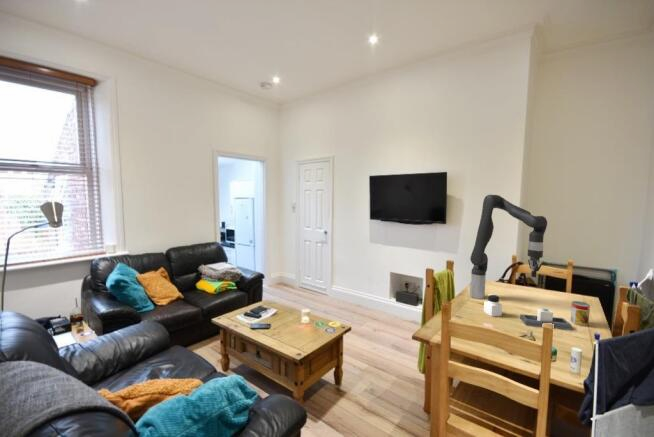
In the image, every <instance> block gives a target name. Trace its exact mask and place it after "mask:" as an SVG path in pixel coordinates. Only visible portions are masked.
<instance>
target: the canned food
mask: <svg viewBox="0 0 654 437" xmlns="http://www.w3.org/2000/svg"><path fill="white" fill-rule="evenodd" d="M570 308H571V309H570V324H573V325H575V326H579V327H588V326H589V323H590V322H589V321H590V309H591V305H590V304H589V303H587V302H584V301H579V300H573V301H571V307H570Z"/></svg>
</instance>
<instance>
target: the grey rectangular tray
mask: <svg viewBox="0 0 654 437" xmlns="http://www.w3.org/2000/svg"><path fill="white" fill-rule="evenodd" d="M519 319H520V321H521V322H522V323H523V324H524V325H525V326H526V327H534V328H535V327H536V328H537V327H538V328H543V327H542V324H543V323H552V324H554V328H553V329H555V330H564V331H565V330H566V331H572V323H571V322H569V321H567V320H566V319H565V318H563V317H558V316H557V317H555V316H553V319H552V322H550V321H540V320H537V315H533V314H523V313H520V315H519ZM556 328H557V329H556Z"/></svg>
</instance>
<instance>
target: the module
mask: <svg viewBox="0 0 654 437" xmlns="http://www.w3.org/2000/svg"><path fill="white" fill-rule="evenodd" d="M553 315H554V312H553V311H552V310H550V309H548V308H545V307H544V308H543V307H542V308H537V314H536V316H537V320H540V321H550V322H552V319H553V317H554V316H553Z"/></svg>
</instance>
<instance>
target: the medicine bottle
mask: <svg viewBox="0 0 654 437" xmlns="http://www.w3.org/2000/svg"><path fill="white" fill-rule="evenodd" d="M499 302H500V296H499V295H496V294H493V293H492V294H491V293H490V294H488V295H487V300H486V301H484V302H483V303H484V304H483V313H485V314H487V315H488V316H489V317H502V313H503V304H501V303H499Z"/></svg>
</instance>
